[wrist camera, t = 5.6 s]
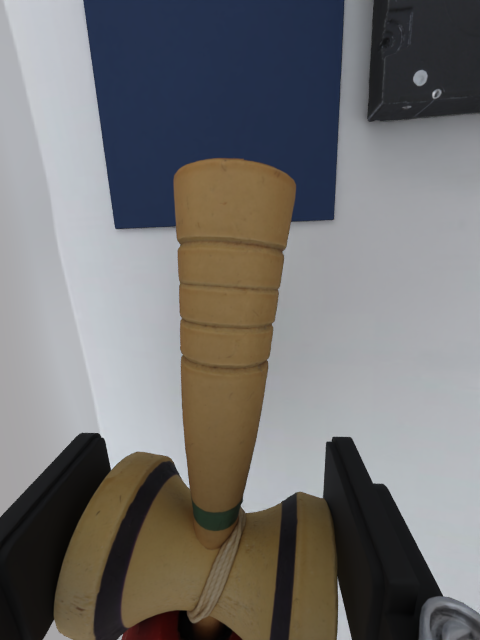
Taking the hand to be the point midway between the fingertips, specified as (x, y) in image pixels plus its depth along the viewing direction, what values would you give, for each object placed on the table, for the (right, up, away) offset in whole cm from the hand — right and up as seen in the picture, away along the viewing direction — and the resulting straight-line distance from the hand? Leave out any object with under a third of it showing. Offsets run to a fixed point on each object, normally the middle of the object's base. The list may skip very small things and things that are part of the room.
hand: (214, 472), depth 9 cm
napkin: (-1, +22, +9) cm, 23 cm away
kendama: (0, +1, +2) cm, 2 cm away
